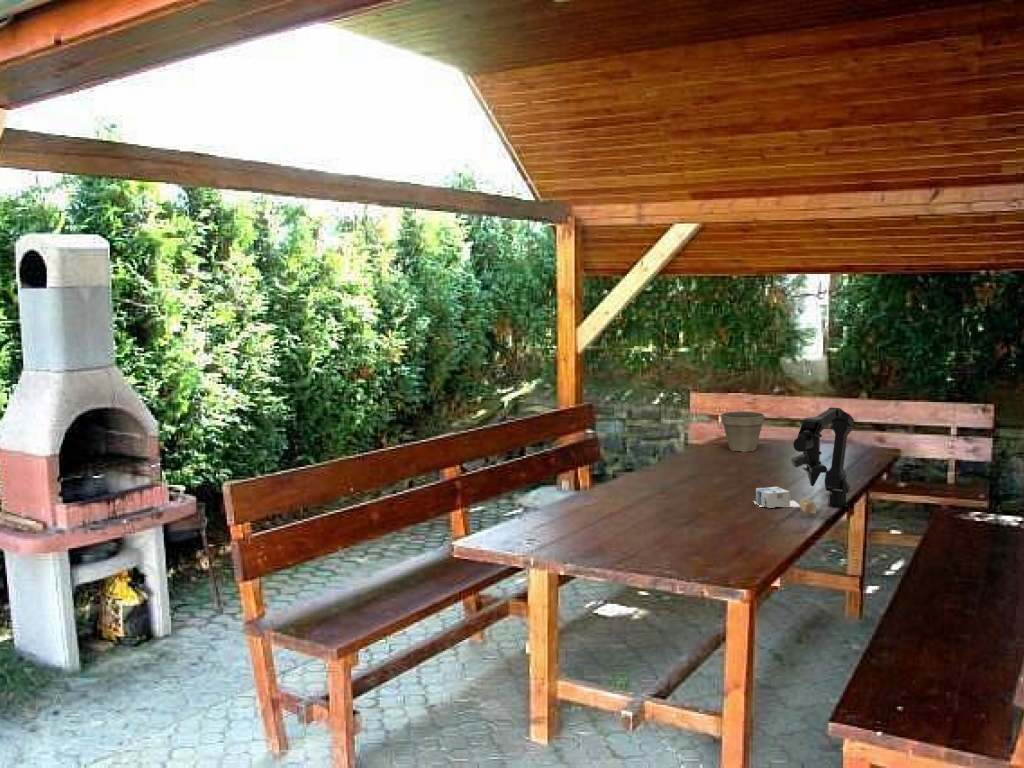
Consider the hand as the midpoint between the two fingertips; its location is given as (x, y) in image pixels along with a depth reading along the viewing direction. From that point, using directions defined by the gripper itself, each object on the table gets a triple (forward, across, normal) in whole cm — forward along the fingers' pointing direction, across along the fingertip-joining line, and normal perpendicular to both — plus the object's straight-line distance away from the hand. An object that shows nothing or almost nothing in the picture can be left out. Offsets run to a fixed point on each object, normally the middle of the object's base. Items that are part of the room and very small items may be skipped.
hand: (812, 485), depth 375 cm
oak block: (+10, -2, 0) cm, 10 cm away
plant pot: (+13, -159, +11) cm, 160 cm away
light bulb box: (+8, -11, -10) cm, 17 cm away
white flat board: (+12, -18, -9) cm, 24 cm away
